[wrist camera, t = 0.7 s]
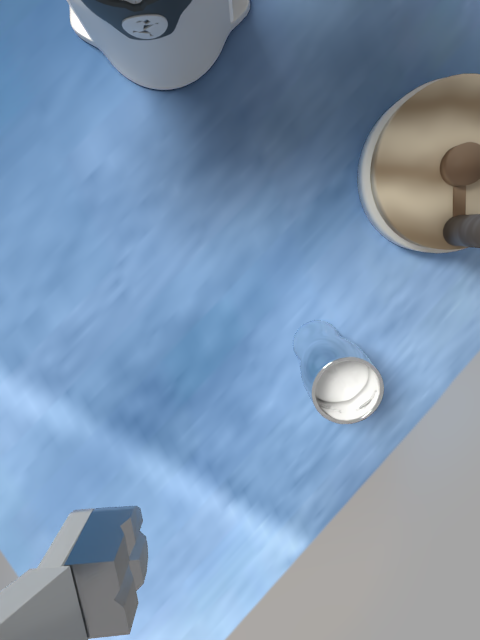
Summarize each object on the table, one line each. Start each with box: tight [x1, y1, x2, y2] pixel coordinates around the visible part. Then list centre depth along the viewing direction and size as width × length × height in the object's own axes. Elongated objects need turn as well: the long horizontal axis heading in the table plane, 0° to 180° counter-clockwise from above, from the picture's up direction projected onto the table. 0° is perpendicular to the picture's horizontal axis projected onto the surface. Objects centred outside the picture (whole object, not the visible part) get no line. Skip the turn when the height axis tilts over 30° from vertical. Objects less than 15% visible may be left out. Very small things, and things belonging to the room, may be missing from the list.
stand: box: [357, 78, 465, 253], centre depth 42 cm, size 18×20×6 cm
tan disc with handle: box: [370, 73, 480, 250], centre depth 38 cm, size 17×17×8 cm
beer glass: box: [293, 320, 384, 424], centre depth 42 cm, size 7×7×15 cm
